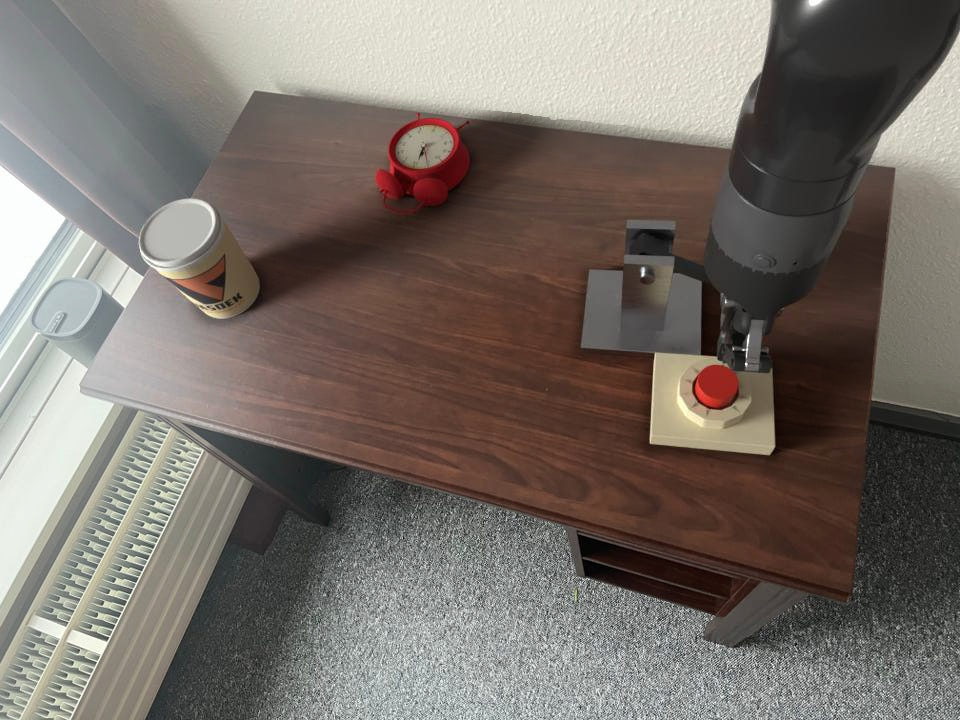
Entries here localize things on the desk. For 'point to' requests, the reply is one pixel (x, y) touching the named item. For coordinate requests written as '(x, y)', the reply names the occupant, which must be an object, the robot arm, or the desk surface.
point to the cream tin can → (200, 257)
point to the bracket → (643, 303)
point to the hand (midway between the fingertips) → (730, 354)
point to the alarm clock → (424, 162)
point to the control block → (705, 427)
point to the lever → (661, 248)
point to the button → (716, 386)
